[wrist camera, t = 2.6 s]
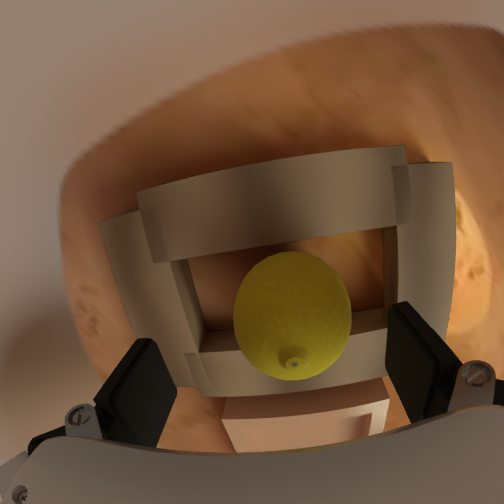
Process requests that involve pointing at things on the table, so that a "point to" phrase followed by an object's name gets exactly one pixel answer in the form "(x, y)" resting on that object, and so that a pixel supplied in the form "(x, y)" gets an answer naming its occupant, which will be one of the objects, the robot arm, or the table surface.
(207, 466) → the robot arm
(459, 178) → the table surface
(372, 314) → the rectangular open frame
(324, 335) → the lemon
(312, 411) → the tray
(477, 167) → the table surface
